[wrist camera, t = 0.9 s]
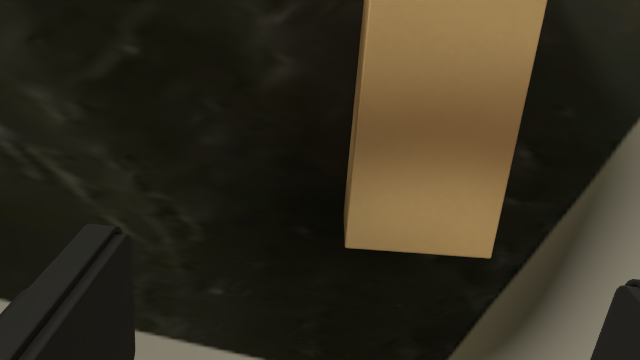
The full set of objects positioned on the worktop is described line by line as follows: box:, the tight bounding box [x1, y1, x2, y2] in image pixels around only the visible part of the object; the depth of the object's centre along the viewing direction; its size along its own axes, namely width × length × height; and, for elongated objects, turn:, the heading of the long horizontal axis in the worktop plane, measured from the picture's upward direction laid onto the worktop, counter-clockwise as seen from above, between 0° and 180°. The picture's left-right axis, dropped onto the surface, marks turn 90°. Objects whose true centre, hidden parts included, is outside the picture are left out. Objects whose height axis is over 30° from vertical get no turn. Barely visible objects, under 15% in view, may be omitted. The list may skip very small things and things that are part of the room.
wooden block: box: [344, 0, 547, 258], centre depth 23 cm, size 13×6×4 cm, turn 176°
